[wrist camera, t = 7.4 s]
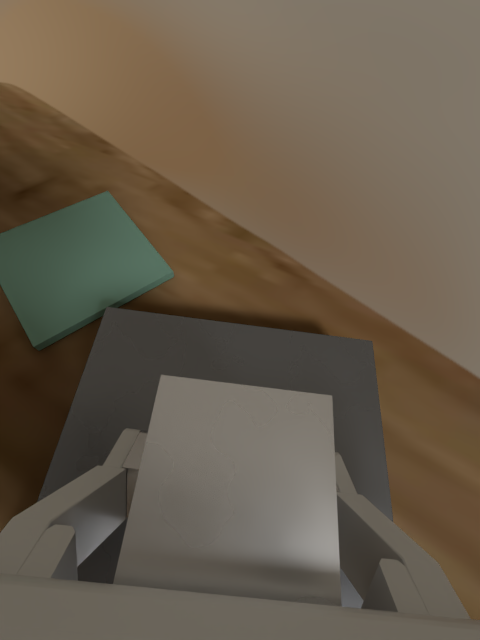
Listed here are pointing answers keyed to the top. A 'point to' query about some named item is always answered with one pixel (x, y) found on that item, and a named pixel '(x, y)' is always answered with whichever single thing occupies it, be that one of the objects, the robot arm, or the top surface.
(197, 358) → the socket block
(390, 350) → the top surface
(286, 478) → the steel bar
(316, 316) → the top surface
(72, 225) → the rubber mat
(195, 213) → the top surface
